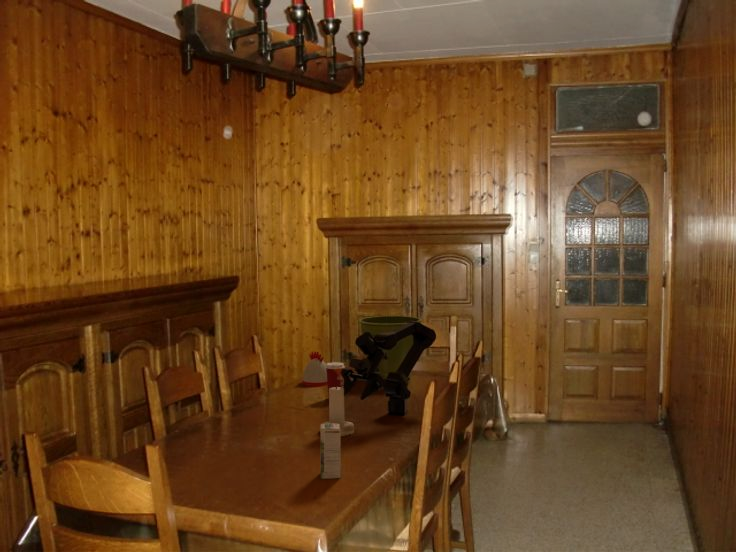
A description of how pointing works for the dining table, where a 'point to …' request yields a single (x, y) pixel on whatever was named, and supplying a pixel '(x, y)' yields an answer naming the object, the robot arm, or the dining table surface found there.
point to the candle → (336, 405)
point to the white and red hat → (315, 371)
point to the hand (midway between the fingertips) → (351, 397)
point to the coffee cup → (334, 375)
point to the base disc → (344, 428)
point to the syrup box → (330, 451)
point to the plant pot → (402, 347)
